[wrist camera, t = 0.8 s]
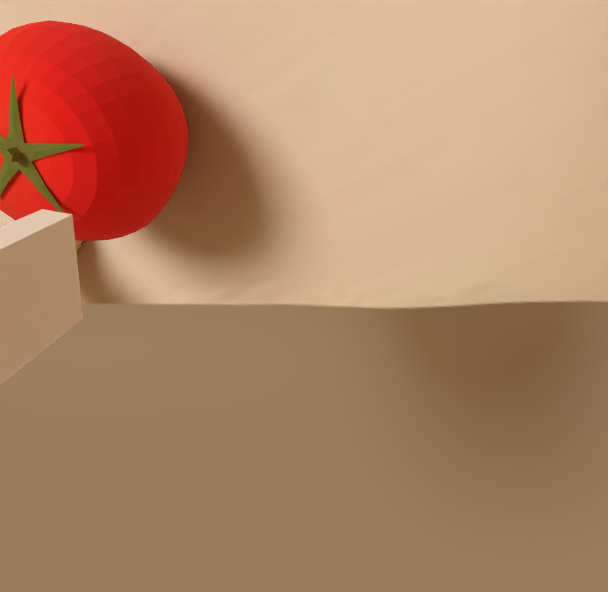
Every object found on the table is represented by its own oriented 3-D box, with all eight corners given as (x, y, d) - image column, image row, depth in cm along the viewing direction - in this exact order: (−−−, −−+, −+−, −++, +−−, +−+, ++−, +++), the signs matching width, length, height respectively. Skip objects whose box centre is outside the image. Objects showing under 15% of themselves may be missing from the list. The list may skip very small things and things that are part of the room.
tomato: (234, 199, 38) (143, 271, 25) (101, 218, 40) (-41, 291, 28) (188, 7, 33) (46, -24, 20) (41, 44, 36) (-165, 38, 23)
